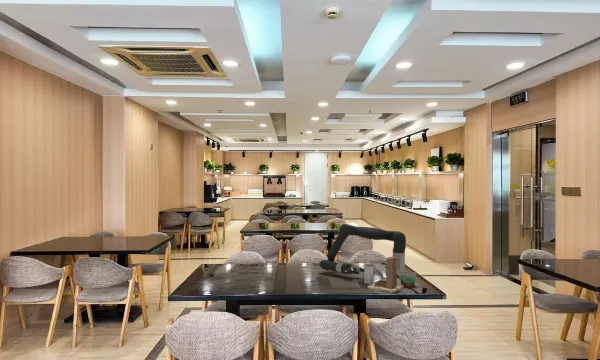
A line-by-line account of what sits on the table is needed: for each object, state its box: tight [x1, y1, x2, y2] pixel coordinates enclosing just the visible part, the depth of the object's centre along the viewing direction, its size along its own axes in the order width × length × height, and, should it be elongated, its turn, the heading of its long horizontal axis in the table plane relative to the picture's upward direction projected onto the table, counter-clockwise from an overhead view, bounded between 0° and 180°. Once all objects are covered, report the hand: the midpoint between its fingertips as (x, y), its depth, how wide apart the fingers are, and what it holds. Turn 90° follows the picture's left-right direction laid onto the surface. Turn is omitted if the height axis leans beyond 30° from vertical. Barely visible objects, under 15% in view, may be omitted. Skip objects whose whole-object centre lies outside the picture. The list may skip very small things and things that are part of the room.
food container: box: [399, 271, 417, 289], centre depth 260 cm, size 12×6×10 cm, turn 101°
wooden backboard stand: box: [366, 256, 405, 294], centre depth 257 cm, size 18×18×21 cm
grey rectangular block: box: [363, 263, 374, 285], centre depth 269 cm, size 5×5×13 cm
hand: (361, 271), depth 273 cm, fingers open, 8 cm apart
